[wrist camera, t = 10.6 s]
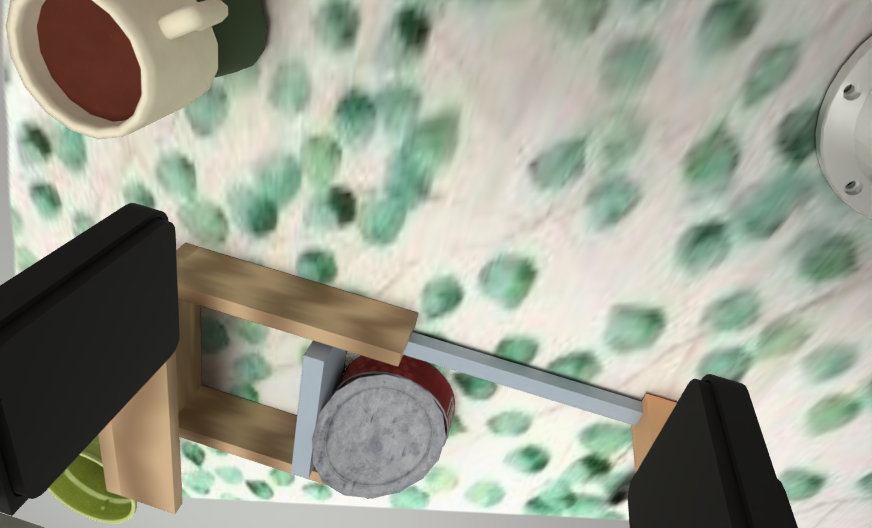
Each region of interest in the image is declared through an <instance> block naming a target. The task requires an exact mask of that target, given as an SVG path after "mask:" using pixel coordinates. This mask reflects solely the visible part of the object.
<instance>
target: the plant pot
mask: <svg viewBox="0 0 872 528" xmlns="http://www.w3.org/2000/svg"><path fill="white" fill-rule="evenodd" d="M48 491H49V492H50V493H51V494H52V495H53V496H54V497H56V498H57V499H58V500H59V501H60V502H62V503H63V504H64V505H66V506H67V507H69V508H70V509H72V510H73V511H75V512H77V513H79V514H81V515H83V516H85V517H88V518H90V519H93V520H96V521H101V522H106V523H122V522H125V521H127V520H129V519H130V518H131V517H132V516H133V515H134V513H135V512H136V508H137V501H135V500H132V499H129V498H126V497H123V496H120V495H117V494H114V493H111V492H108V491H107V489H106V482H105V476H104V469H103V463H102V456H101V450H100V443H99V437H98V435H97V436H96V437H95V439H94V440H93V441H92V442H91V443H90V444H89V445H88V446H87V447H86V448H85V449H84V450H83V451H82V452H81V454H80V455H79V456H78V457H77V458H76V459H75V460H74V461H73V462H72V463H71V464H70V465H69V466H68V467H67V469H66V470H65V471H64V472H63V473H62V474H61V475H60V476H59V477H58V478H57V479H56V480H55V481H54V482H53V484H52V485H51V486H50V487H49V488H48Z"/></svg>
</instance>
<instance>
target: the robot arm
mask: <svg viewBox="0 0 872 528" xmlns="http://www.w3.org/2000/svg"><path fill="white" fill-rule="evenodd" d="M850 84H851V85H852V86H851V89H850V90H849V91H847V92H843V91H844V89H845V88H846V87H847V86H848V85H850ZM816 154H817V157H818V160H819V164H820V167H821V171H822V173H823V174H824V176H825V178H826V179H827V181H828V183H829V184H830V186H831V188H832V189H833V190H834V191H835V192H836V194H837V195H838V196H839V197H840V198H841V199H842V200H843V201H844V202H845V203H847V204H848V205H849V206H850V207H852V208H853V209H854V210H856V211H857V212H858V213H860V214H862V215H864V216H866V217H868V218H871V219H872V36H871V37H870V38H869V39H867V40H866V41H865V42H864V43H863V44H862V45H861V46H860V47H859V48H858V49H857V50H856V51H855V52H854V54H853V55H852V56H851V57H850V58H849V59H848V61H847V62H846V63H845V64H844V65H843V66H842V68H841V69H840V71H839V72H838V74H837V76H836V77H835V79H834V81H833V82H832V84H831V85H830V87H829V89H828V91H827V93H826V96H825V98H824V101H823V103H822V106H821V109H820V111H819V116H818V122H817V127H816ZM852 181H853V182H852ZM849 182H852V183H851V184H850V185H848V186H846V185H847V184H848V183H849ZM179 337H180V331H179V307H178V282H177V258H176V233H175V227H174V225H173V224H172V223H171V222H169V221H168V217H167V215H166V214H165V213H164V212H162V211H159V210H156V209H152V208H149V207H146V206H142V205H139V204H136V203H130V204H127V205H125V206H124V207H122V208H120V209H119V210H117V211H116V212H114V213H113V214H111V215H110V216H108V217H106V218H105V219H103V220H102V221H100V222H99V223H97V224H96V225H94V226H92V227H91V228H89V229H88V230H86V231H85V232H83V233H81V234H80V235H78V236H77V237H75V238H74V239H72V240H71V241H69V242H67V243H66V244H64V245H63V246H61V247H60V248H58V249H57V250H55V251H53V252H52V253H50V254H49V255H47V256H46V257H44V258H42V259H41V260H39V261H38V262H36V263H35V264H33V265H32V266H30V267H28V268H27V269H25V270H24V271H22V272H21V273H19V274H18V275H16V276H14V277H13V278H12V279H10V280H8V281H7V282H5V283H4V284H2V285H1V286H0V512H2V513H5V514H8V515H11V516H8V515H5V514H2V513H0V528H44V527H41V526H38V525H35V524H32V523H30V522H26V521H24V520H20V519H18V518H15V517H12V515H13V514H14V513H15V512H16V511H17V510H18V509H19V508H20V507H21V506H22V505H23V504H24V503H25V501H27V500H28V498H31V499H34V498H37V497H38V496H40V495H42V494H43V493H44V492H45V491H46V490H47V489H48V488H49V487H50V486H51V485H52V484H53V482H54V481H55V480H56V479H57V478H58V477H59V476H60V475H61V474H62V473H63V472H64V471H65V470H66V469H67V467H68V466H69V465H70V464H71V463H72V462H73V461H74V460H75V459H76V458H77V457H78V456H79V455H80V454H81V452H82V451H83V450H84V449H85V448H86V447H87V446H88V445H89V444H90V443H91V442H92V441H93V440H94V439H95V437H96V436H97V435H98V434H99V433H100V432H101V431H102V430H103V429H104V428H105V427H106V426H107V425H108V423H109V422H110V421H111V420H112V419H113V418H114V417H115V416H116V415H117V414H118V413H119V412H120V411H121V410H122V408H123V407H124V406H125V405H126V404H127V403H128V402H129V401H130V400H131V399H132V398H133V397H134V396H135V395H136V393H137V392H138V391H139V390H140V389H141V388H142V387H143V386H144V385H145V384H146V383H147V382H148V381H149V380H150V378H151V377H152V376H153V375H154V374H155V373H156V372H157V371H158V370H159V369H160V368H161V367H162V366H163V364H164V363H165V362H166V361H167V360H168V359H169V358H170V357H171V356H172V355H173V353H174V352H175V350H176V348H177V346H178V343H179ZM628 508H629V523H630V528H798V527H797V524H796V521H795V518H794V515H793V512H792V509H791V506H790V503H789V500H788V497H787V494H786V491H785V489H784V487H783V485H782V483H781V481H779V480H778V479H777V477H776V474H775V471H774V468H773V465H772V462H771V459H770V456H769V453H768V450H767V447H766V444H765V441H764V438H763V435H762V432H761V429H760V426H759V423H758V420H757V416H756V413H755V410H754V407H753V404H752V401H751V398H750V395H749V392H748V390H747V388H746V386H745V385H744V384H742V383H739V382H735V381H732V380H728V379H725V378H722V377H718V376H715V375H712V374H707V375H706V376H704V377H703V378H702V380H698V379H692V380H691V381H690V382H689V384H688V385H687V387H686V389H685V390H684V392H683V394H682V395H681V397H680V399H679V400H678V402H677V404H676V406H675V407H674V409H673V411H672V412H671V414H670V416H669V417H668V419H667V421H666V422H665V424H664V426H663V428H662V429H661V431H660V433H659V434H658V436H657V438H656V439H655V441H654V443H653V445H652V446H651V448H650V450H649V451H648V453H647V455H646V456H645V458H644V460H643V461H642V463H641V465H640V467H639V468H638V470H637V472H636V473H635V475H634V477H633V479H632V481H631V484H630V487H629V492H628Z"/></svg>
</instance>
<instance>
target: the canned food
mask: <svg viewBox="0 0 872 528" xmlns="http://www.w3.org/2000/svg"><path fill="white" fill-rule="evenodd" d="M454 409H455V399H454V394H453V391H452V389H451V386H450V385H449V383H448V381H447V380H446V378H445V377H444V376H443V375H442V374H441V373H440V372H439V371H438V370H437V369H436V368H435V367H434V366H432V365H431V364H430V363H428V362H426V361H423V360H419V359H416V358H413V357H410V356H406V355H403V356H402V359H401V361H400V363H399V366H395V365H391V364H388V363H385V362H382V361H378V360H375V359H372V358H369V357H366V356H362V355H361V356H360V357H358V358H356V359H355V360H354V361H353V362H352V363H351V364H350V365H349V367H348V368H347V370H346V372H345V374H344V376H343V377H342V379H341V381H340V383H339V385H338V387H337V388H336V390H335V392H334V394H333V396H332V397H331V399H330V400H329V401H328V403H327V404H326V405H325V406H324V408H323V409H322V410H321V412H320V414H319V417H318V420H317V424H316V427H315V430H314V433H313V436H312V447H313V464H314V466H315V468H316V470H317V471H318V474H319V476H320V478H321V480H322V482H324V483H325V484H327V485H328V486H330V487H331V488H333V489H335V490H336V491H338V492H340V493H341V494H343V495H346V496H356V497H364V498H376V497H380V496H384V495H389V494H394V493H399V492H401V491H403V490H404V489H406V488H407V487H409V486H410V485H412V484H414V483H416V482H418V481H419V480H421V479H423V478H424V476H425V475H426V474H427V473H428V471H429V470H430V469H431V468H432V467H433V465H434V464H435V463H436V462H437V461H438V460H439V457H440V454H441V450H442V447H443V446H444V445H445V443H446V440H447V438H448V433H449V429H450V425H451V422H452V418H453V414H454Z"/></svg>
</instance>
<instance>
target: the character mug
mask: <svg viewBox="0 0 872 528" xmlns="http://www.w3.org/2000/svg"><path fill="white" fill-rule="evenodd" d="M266 29H267V26H266V22H265V18H264V14H263V10H262V6H261V2H260V1H259V0H11V1H10V5H9V11H8V17H7V22H6V31H7V37H8V43H9V49H10V55H11V58H12V60H13V62H14V65H15V67H16V69H17V71H18V73H19V76H20V78H21V80H22V82H23V84H24V86H25V88H26V89H27V90H28V91H29V93H30V94H31V95H32V96H33V97H34V99H35V100H36V101H37V102H38V103H39V105H40V106H41V107H42V108H43V109H44V110H45V112H46V113H48V114H49V115H50V116H52V117H53V118H55V119H56V120H58V121H59V122H60V123H62V124H63V125H65V126H66V127H67V128H69V129H70V130H72V131H75V132H78V133H81V134H84V135H87V136H90V137H93V138H96V139H105V138H116V137H123V136H126V135H128V134H130V133H132V132H134V131H136V130H139V129H141V128H143V127H145V126H147V125H149V124H151V123H153V122H155V121H157V120H159V119H161V118H163V117H165V116H167V115H169V114H171V113H173V112H175V111H177V110H179V109H181V108H183V107H185V106H187V105H189V104H190V103H192V102H193V101H194V100H196V99H197V98H199V97H200V96H201V95H203V94H204V93H205V92H207V91H208V90H209V88H210V86H211V84H212V82H213V79H214V77H219V76H223V75H226V74H230V73H234V72H237V71H239V70H242V69H244V68H247V67H250V66H252V65H254V63H255V62H256V60H257V59H258V58H259V56H260V55H261V53H262V52H263V50H264V46H265V38H266Z"/></svg>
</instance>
